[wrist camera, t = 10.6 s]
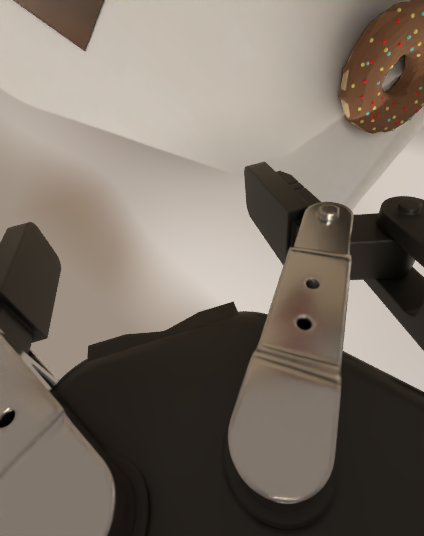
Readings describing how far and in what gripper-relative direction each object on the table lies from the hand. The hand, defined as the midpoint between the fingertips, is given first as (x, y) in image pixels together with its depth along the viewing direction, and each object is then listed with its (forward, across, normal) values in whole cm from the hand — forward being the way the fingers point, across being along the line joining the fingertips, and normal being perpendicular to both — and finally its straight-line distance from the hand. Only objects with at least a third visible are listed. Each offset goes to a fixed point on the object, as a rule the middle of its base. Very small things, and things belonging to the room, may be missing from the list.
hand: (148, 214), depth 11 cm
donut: (+28, -32, +4) cm, 43 cm away
